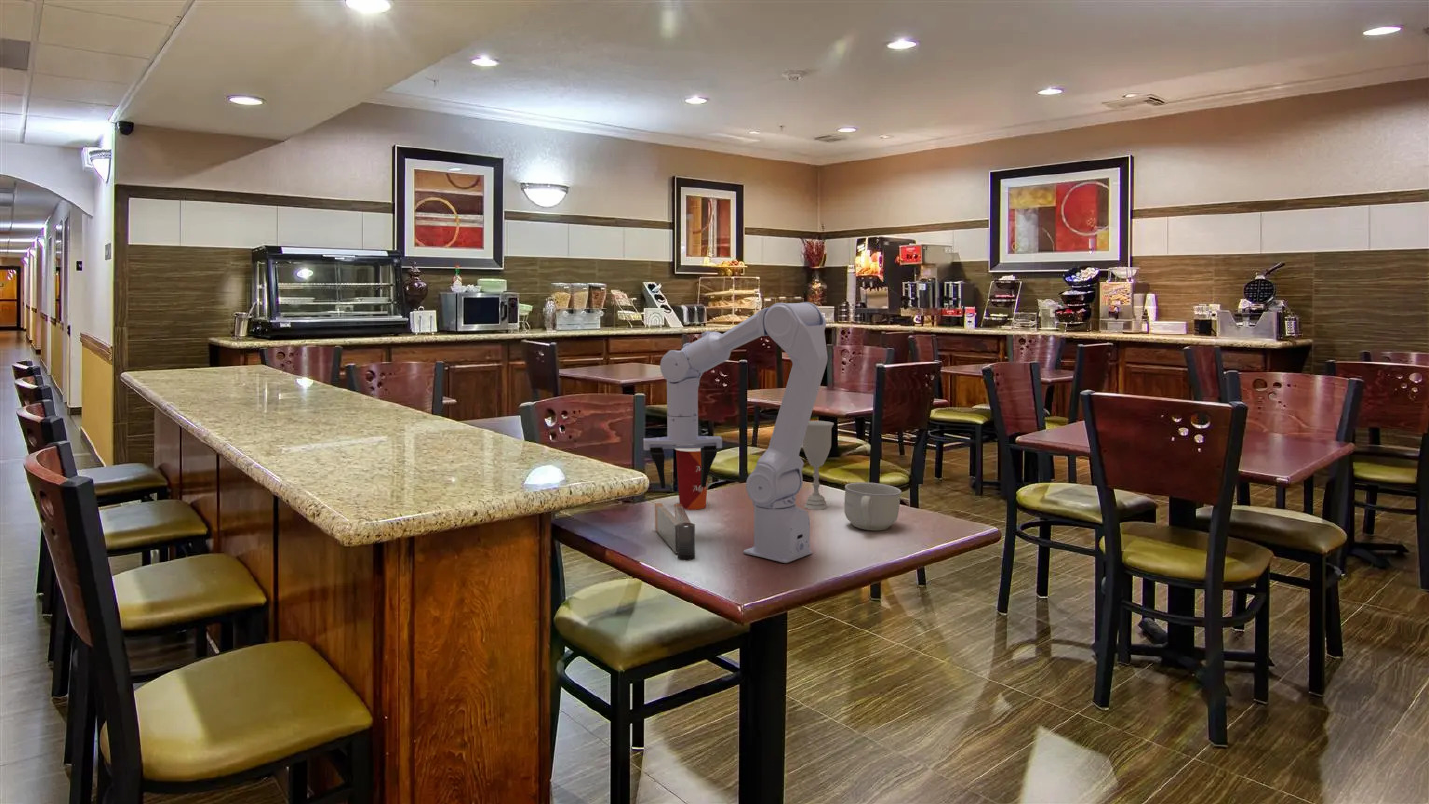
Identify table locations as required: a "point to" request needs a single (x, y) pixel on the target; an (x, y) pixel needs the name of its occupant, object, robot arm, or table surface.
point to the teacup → (871, 505)
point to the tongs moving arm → (666, 526)
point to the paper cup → (690, 479)
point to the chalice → (817, 457)
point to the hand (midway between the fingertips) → (683, 486)
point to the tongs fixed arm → (685, 534)
